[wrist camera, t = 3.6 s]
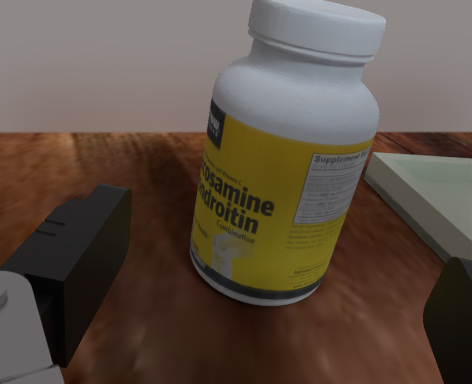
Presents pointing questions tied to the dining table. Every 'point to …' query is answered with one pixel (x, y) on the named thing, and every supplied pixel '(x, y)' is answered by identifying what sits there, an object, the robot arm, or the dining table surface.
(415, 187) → the dish
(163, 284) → the dining table surface
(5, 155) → the dining table surface
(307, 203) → the pill bottle
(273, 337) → the dining table surface
